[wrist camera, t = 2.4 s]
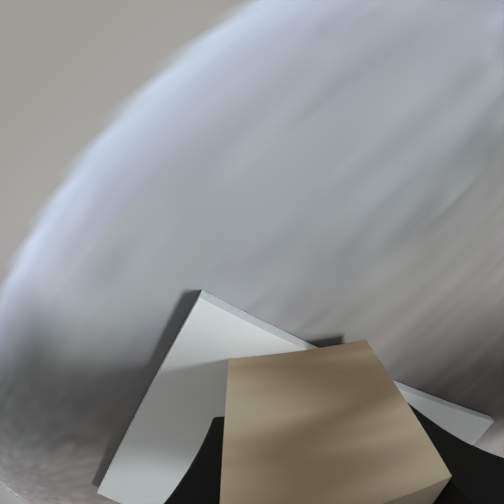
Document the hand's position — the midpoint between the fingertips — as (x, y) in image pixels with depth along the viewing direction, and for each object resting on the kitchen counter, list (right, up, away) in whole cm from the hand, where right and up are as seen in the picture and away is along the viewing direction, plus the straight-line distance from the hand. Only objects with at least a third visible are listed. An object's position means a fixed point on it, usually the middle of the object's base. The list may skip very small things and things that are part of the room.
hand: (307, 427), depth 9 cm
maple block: (0, 0, +1) cm, 1 cm away
